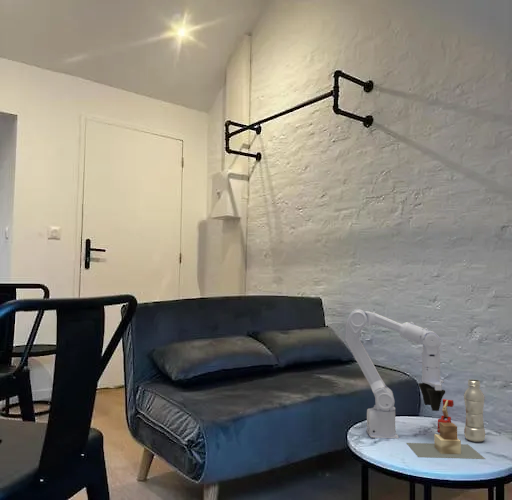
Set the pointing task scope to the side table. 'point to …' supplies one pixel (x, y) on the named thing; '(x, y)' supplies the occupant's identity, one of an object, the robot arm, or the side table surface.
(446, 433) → the walnut block
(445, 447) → the birch base block
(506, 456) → the side table surface
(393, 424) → the robot arm
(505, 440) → the side table surface
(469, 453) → the grey flat rectangular panel
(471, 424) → the plastic bottle
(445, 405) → the toy fire truck
